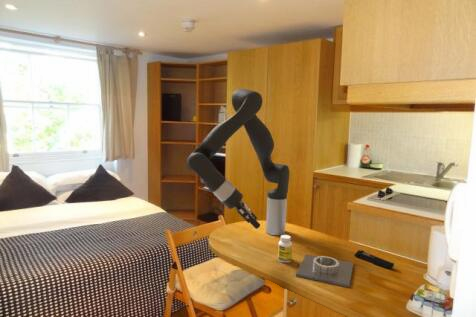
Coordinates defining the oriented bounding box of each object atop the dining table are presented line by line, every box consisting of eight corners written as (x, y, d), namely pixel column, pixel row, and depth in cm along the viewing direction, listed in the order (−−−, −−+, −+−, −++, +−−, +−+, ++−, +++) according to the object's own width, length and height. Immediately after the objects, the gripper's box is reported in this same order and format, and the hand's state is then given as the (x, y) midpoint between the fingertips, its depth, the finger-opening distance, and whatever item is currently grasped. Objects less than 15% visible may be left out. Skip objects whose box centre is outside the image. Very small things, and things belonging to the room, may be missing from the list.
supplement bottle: (276, 261, 128) (277, 238, 127) (278, 256, 133) (279, 233, 132) (290, 263, 126) (291, 239, 125) (292, 258, 132) (293, 234, 130)
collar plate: (306, 256, 133) (306, 248, 133) (353, 265, 126) (353, 256, 126) (295, 276, 117) (296, 266, 116) (349, 287, 110) (349, 277, 110)
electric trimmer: (390, 272, 123) (391, 264, 122) (353, 257, 135) (354, 249, 134) (395, 270, 125) (396, 262, 124) (358, 254, 137) (359, 247, 137)
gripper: (236, 191, 117) (267, 222, 120) (233, 183, 131) (261, 211, 134) (221, 206, 117) (252, 236, 120) (219, 196, 131) (247, 223, 134)
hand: (257, 223), depth 127 cm, fingers open, 8 cm apart
